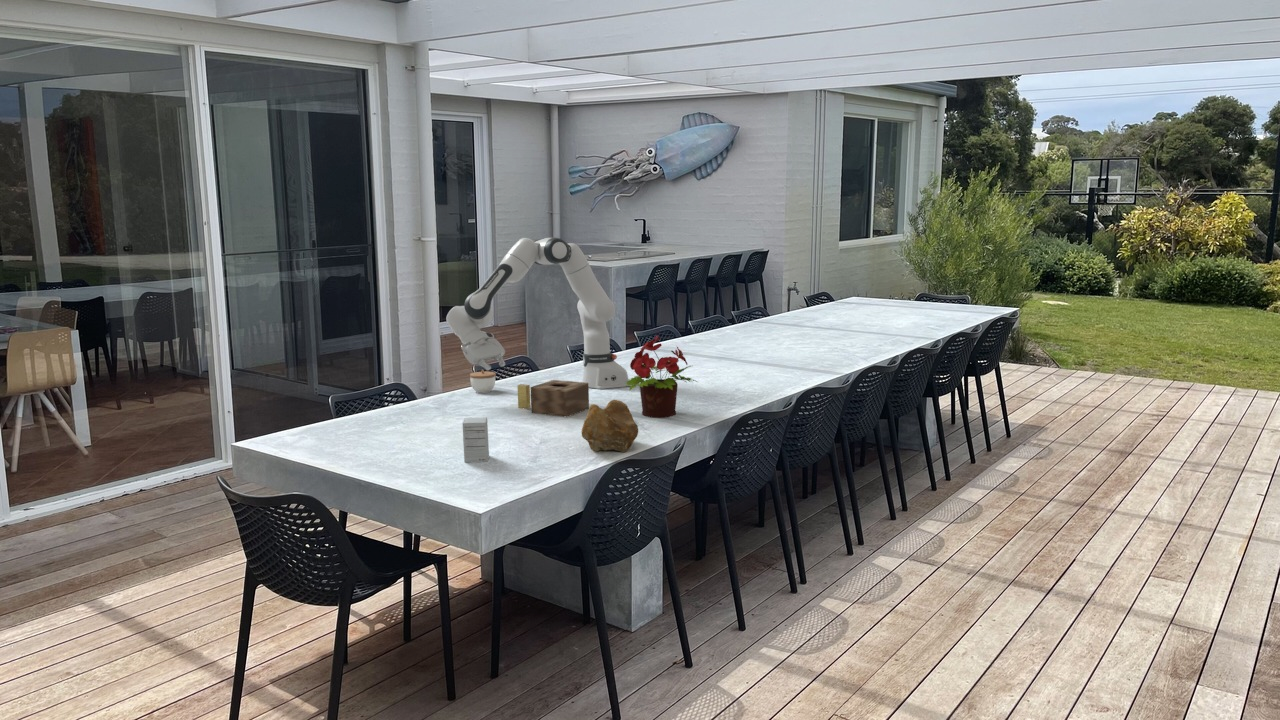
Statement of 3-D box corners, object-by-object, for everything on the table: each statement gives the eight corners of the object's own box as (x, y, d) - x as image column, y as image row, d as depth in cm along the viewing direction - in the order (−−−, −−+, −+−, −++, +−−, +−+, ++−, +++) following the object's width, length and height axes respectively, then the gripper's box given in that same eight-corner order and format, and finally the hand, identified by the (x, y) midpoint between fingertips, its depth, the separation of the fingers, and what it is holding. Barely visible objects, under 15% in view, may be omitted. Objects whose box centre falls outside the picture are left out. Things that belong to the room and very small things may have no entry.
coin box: (531, 413, 362) (530, 387, 360) (553, 404, 376) (553, 379, 374) (567, 416, 355) (566, 390, 353) (589, 408, 369) (588, 382, 367)
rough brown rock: (619, 462, 295) (623, 415, 293) (573, 452, 302) (576, 406, 300) (652, 447, 316) (655, 403, 313) (608, 438, 323) (611, 395, 320)
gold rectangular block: (518, 408, 371) (517, 385, 370) (521, 406, 373) (521, 384, 372) (526, 408, 369) (526, 386, 368) (530, 407, 372) (529, 384, 370)
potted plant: (650, 404, 374) (649, 328, 369) (709, 412, 359) (708, 333, 354) (604, 418, 351) (602, 338, 346) (665, 428, 335) (664, 343, 330)
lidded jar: (498, 389, 409) (498, 367, 407) (492, 394, 399) (491, 372, 397) (474, 389, 410) (473, 367, 409) (467, 394, 400) (466, 372, 398)
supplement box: (465, 456, 302) (464, 417, 300) (489, 455, 303) (487, 416, 300) (463, 462, 295) (461, 422, 293) (487, 461, 295) (486, 422, 293)
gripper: (463, 339, 367) (485, 366, 364) (494, 332, 385) (515, 358, 382) (454, 350, 370) (476, 377, 367) (486, 343, 388) (506, 368, 385)
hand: (496, 367), depth 375 cm, fingers open, 8 cm apart
